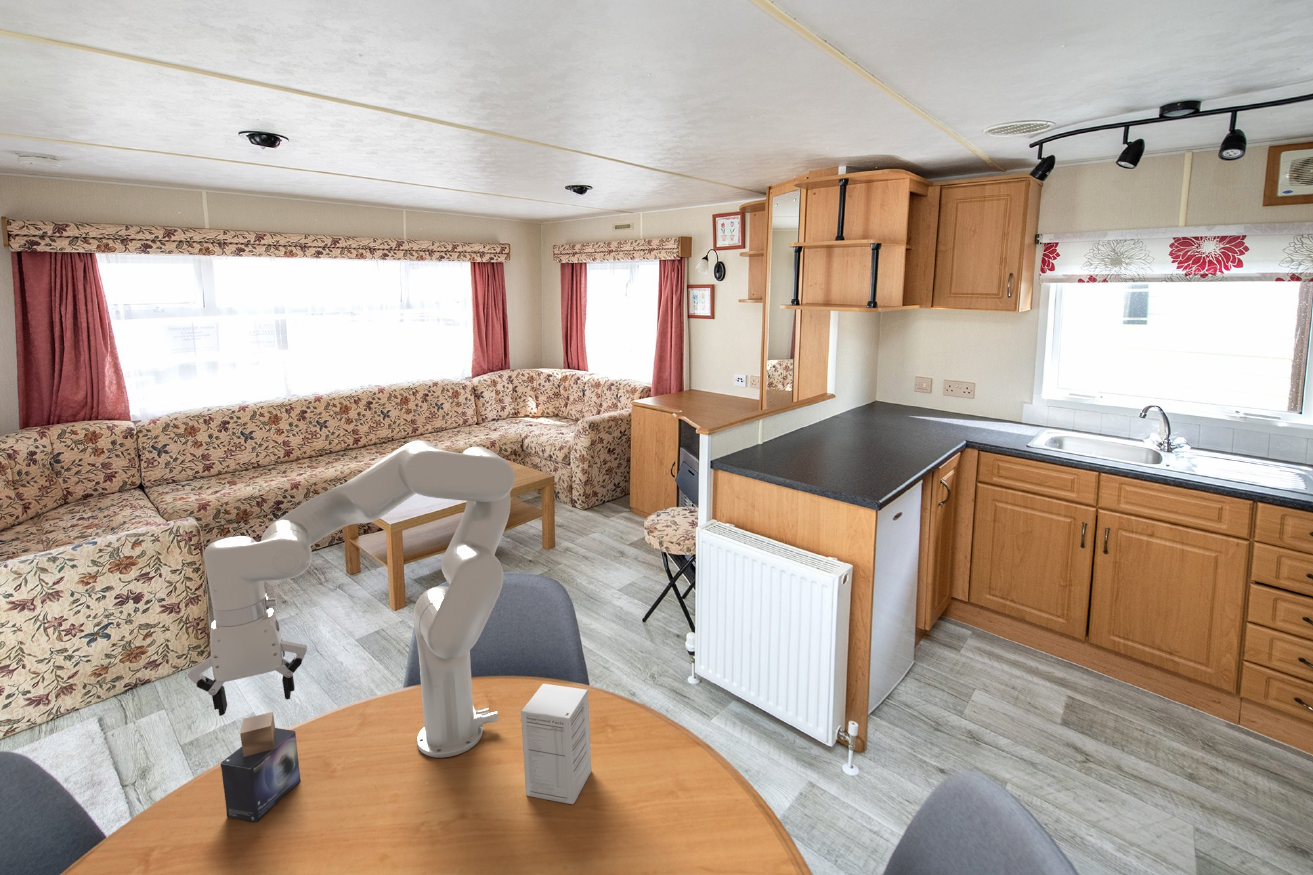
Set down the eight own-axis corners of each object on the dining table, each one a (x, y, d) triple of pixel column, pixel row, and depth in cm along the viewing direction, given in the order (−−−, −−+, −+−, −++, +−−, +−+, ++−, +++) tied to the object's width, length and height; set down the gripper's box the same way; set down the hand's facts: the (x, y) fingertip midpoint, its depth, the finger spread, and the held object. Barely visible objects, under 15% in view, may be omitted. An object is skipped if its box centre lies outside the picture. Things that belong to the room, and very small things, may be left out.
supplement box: (593, 770, 121) (590, 688, 118) (574, 806, 113) (571, 718, 110) (545, 761, 124) (542, 681, 121) (524, 795, 115) (519, 710, 112)
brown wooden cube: (275, 734, 116) (273, 711, 115) (274, 749, 112) (270, 725, 111) (246, 741, 114) (243, 718, 113) (243, 757, 110) (240, 733, 109)
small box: (258, 824, 109) (250, 768, 107) (225, 818, 110) (217, 763, 108) (303, 780, 119) (297, 729, 117) (272, 775, 121) (266, 725, 119)
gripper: (301, 591, 115) (313, 678, 119) (183, 613, 108) (200, 705, 111) (298, 608, 109) (312, 700, 112) (173, 633, 101) (191, 730, 105)
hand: (256, 703), depth 112 cm, fingers open, 9 cm apart
